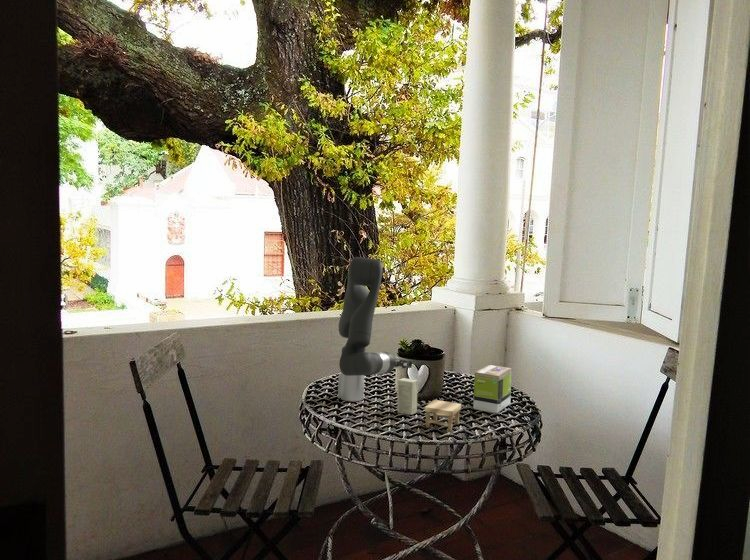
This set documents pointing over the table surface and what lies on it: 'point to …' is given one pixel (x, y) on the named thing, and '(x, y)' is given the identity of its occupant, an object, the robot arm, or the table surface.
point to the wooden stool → (442, 412)
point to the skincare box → (407, 396)
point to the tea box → (492, 388)
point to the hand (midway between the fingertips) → (398, 362)
